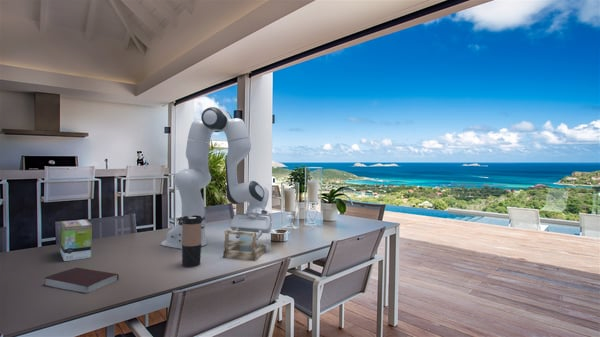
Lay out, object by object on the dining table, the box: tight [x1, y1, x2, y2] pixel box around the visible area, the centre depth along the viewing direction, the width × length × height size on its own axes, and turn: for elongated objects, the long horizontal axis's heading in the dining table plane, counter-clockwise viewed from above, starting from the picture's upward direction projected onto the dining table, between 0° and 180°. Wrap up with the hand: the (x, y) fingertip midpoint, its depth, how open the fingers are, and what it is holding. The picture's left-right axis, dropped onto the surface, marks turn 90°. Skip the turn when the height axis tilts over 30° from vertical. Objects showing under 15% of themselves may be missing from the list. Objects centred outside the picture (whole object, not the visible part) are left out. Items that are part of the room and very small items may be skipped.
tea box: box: [59, 219, 93, 262], centre depth 144 cm, size 15×10×15 cm, turn 41°
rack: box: [222, 229, 267, 261], centre depth 152 cm, size 15×15×12 cm
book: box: [44, 267, 119, 294], centre depth 114 cm, size 12×19×3 cm, turn 74°
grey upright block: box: [239, 235, 252, 252], centre depth 152 cm, size 6×6×10 cm
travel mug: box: [181, 215, 202, 268], centre depth 136 cm, size 8×8×20 cm
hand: (246, 238), depth 154 cm, fingers open, 8 cm apart
